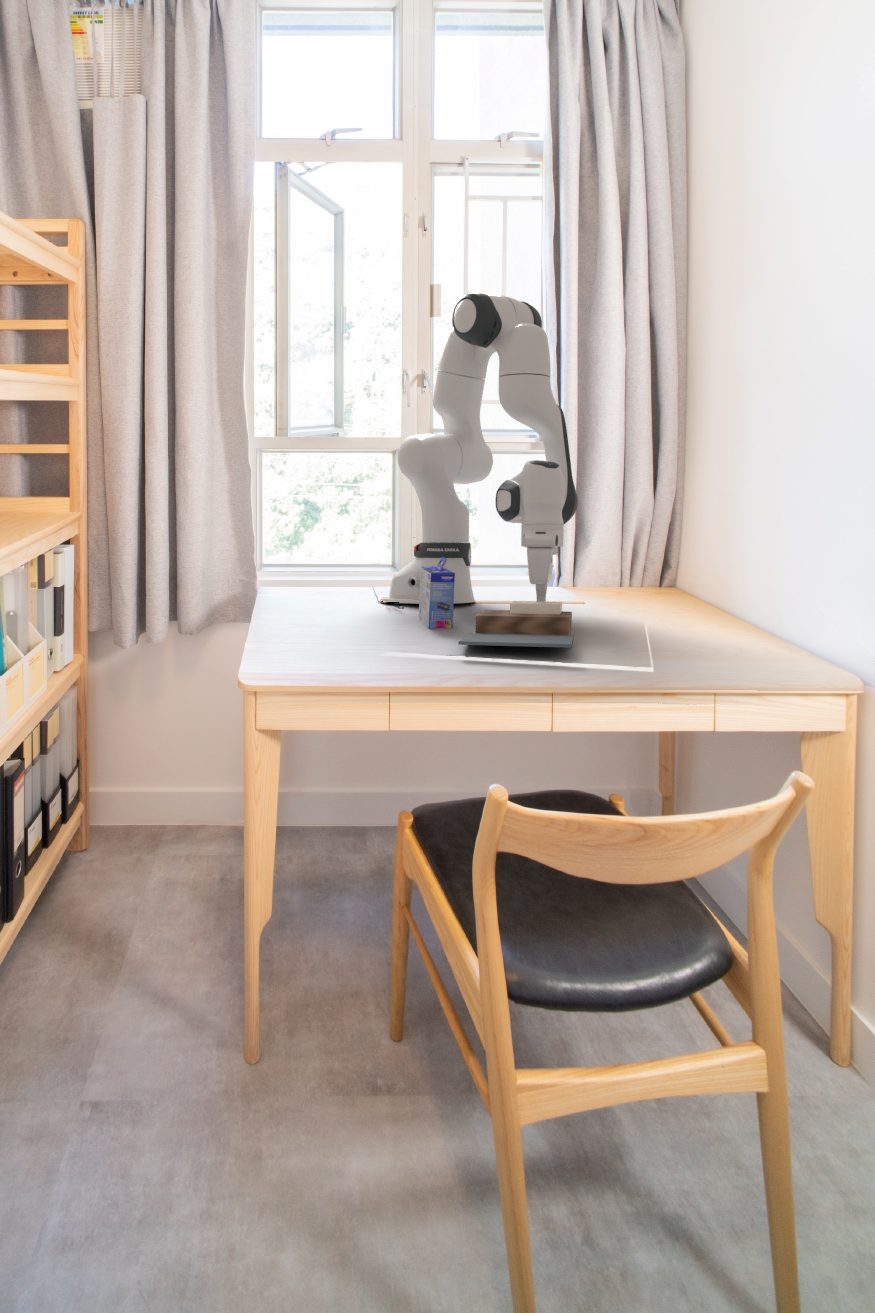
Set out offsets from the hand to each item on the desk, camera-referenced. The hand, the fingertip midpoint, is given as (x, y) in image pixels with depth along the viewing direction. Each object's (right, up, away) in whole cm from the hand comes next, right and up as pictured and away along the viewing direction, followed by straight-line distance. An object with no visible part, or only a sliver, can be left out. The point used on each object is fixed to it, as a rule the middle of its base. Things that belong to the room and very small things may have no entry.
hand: (541, 604), depth 201 cm
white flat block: (-2, -2, -9) cm, 10 cm away
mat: (-7, -8, -25) cm, 28 cm away
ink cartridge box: (-22, -5, -3) cm, 23 cm away
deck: (-4, -7, -11) cm, 14 cm away
